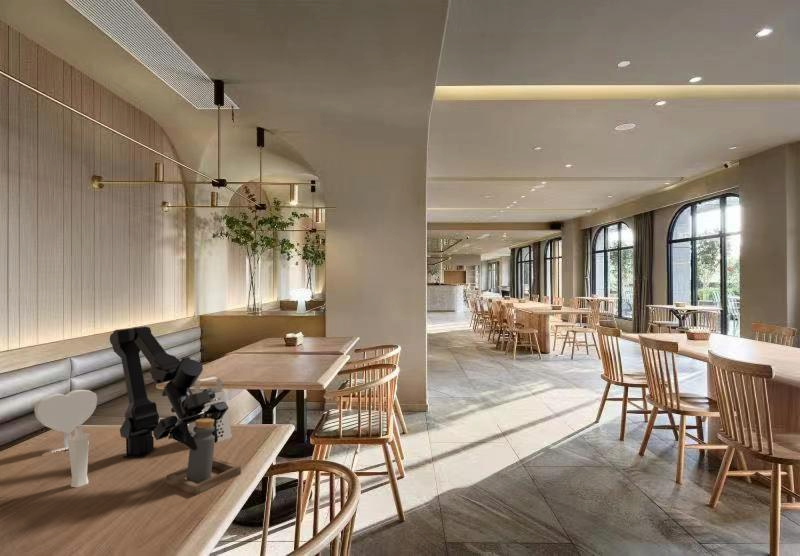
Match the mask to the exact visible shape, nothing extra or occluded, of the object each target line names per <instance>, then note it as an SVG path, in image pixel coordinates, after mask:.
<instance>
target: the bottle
mask: <svg viewBox="0 0 800 556" xmlns="http://www.w3.org/2000/svg"><path fill="white" fill-rule="evenodd" d="M214 421H215V420H214V419H198V420H196V421H195V423H196V427H194V430H193V431H194V432H196V433H195V435H194V436H193V437H192V438H193V440H194V441H195V444H196V446H197V449H196V450H195V451H194V450H192V449H190V448H189V453H188V463H187V467H188V470H187V477H186V480H189V481H191V482H194V483H196V484H198V483H200V482H203V481H205V480H207V479H209V478H211V477H212V471H213V467H212V463H213V458H214V449H215V444H216V443H215V436H214V435H212V431H214V429H215V427H214V426H213V424H214Z"/></svg>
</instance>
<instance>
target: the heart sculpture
mask: <svg viewBox="0 0 800 556" xmlns="http://www.w3.org/2000/svg"><path fill="white" fill-rule="evenodd" d="M97 403H98V396H97V393H96V392H94V391H92V390H88V389H75V390H74V389H72V390H71V391H70V392H68V393H66V394H63V393H54V394H49V395H47V396H44V397H42V398H39V400H38V401H36V402H35V404H34V408H33V409H34V415H35V418H36V419H37V420H38V422H39V423H41V425H43V426H45V427H47V428H48V429H52V430H54V431H59V432H62V433H63V446H60V447H57V448H55V449H51V450H52V451H51V452H52V453H53V452H56V451H61V450H65V449H68V448H69V446H68V439H69V438H71V437H72V436H73V435H72V434H73V433H72V432H73V431H75V429H74V427H77V426H82V425H83V423H85V422H86V421H87V420H88V419H89V418H90V417H91V416H92V415H93V413H94V411H95V410H96V408H97Z"/></svg>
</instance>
